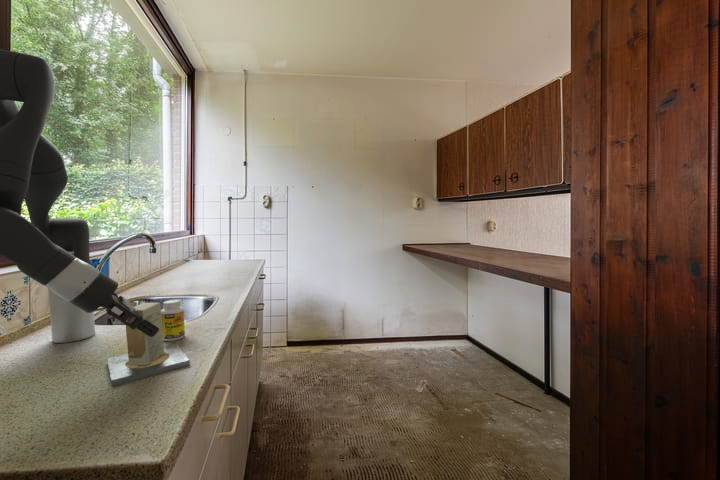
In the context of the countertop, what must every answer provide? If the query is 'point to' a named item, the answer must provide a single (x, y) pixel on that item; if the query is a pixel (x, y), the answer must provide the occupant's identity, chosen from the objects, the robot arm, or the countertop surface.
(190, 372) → the countertop surface
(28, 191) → the robot arm
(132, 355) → the skincare box
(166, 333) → the supplement bottle
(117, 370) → the grey square plate
